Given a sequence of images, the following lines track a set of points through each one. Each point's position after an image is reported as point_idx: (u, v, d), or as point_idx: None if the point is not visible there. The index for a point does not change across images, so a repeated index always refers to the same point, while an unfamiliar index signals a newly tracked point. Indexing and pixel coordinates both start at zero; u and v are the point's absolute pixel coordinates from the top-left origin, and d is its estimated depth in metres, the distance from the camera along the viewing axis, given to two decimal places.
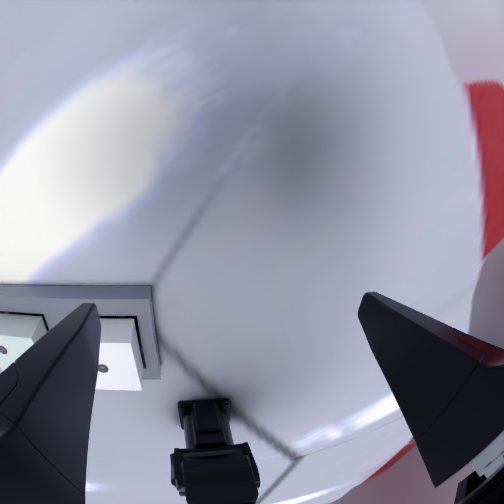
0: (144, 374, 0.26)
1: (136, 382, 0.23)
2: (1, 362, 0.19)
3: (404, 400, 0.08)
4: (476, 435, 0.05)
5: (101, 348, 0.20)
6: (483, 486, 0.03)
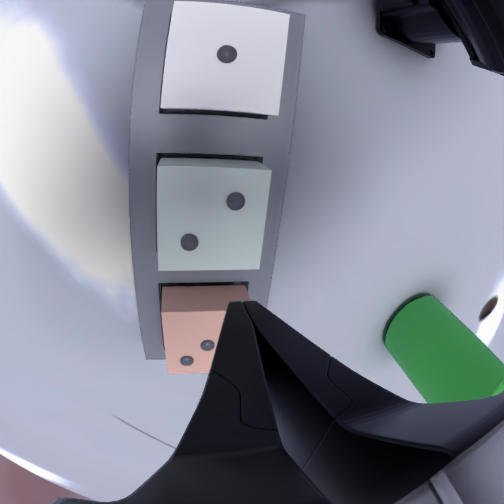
0: (291, 32, 0.15)
1: (267, 15, 0.12)
2: (221, 261, 0.17)
3: None
4: None
5: (179, 42, 0.11)
6: None
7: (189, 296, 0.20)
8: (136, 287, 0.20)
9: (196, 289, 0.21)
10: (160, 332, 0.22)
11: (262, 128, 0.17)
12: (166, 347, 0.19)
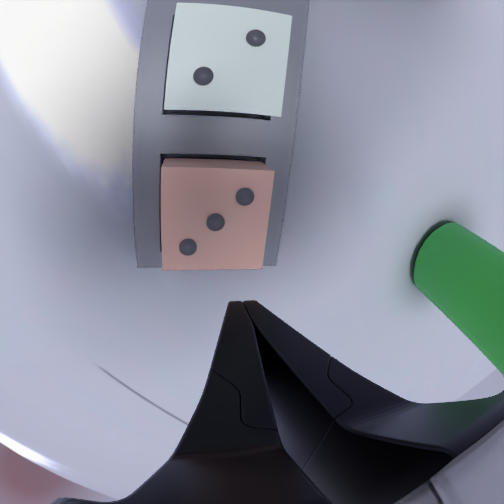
0: None
1: None
2: (237, 101, 0.14)
3: None
4: None
5: None
6: None
7: (196, 162, 0.16)
8: (134, 159, 0.17)
9: (204, 159, 0.17)
10: (157, 224, 0.19)
11: (279, 1, 0.13)
12: (163, 224, 0.16)
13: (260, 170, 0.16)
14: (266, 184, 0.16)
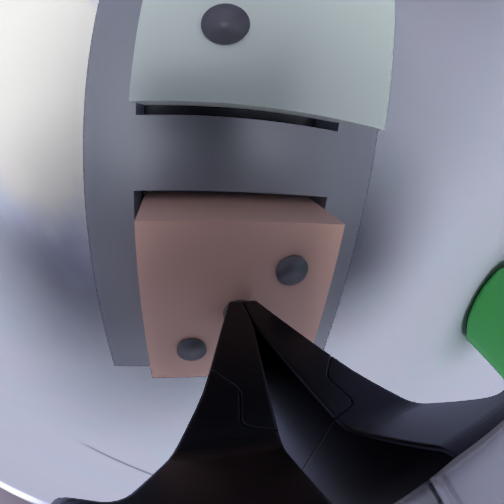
0: None
1: None
2: (303, 87, 0.06)
3: None
4: None
5: None
6: None
7: (202, 202, 0.09)
8: (87, 203, 0.09)
9: (215, 195, 0.10)
10: (138, 311, 0.11)
11: None
12: (146, 318, 0.09)
13: (321, 223, 0.09)
14: (329, 247, 0.09)
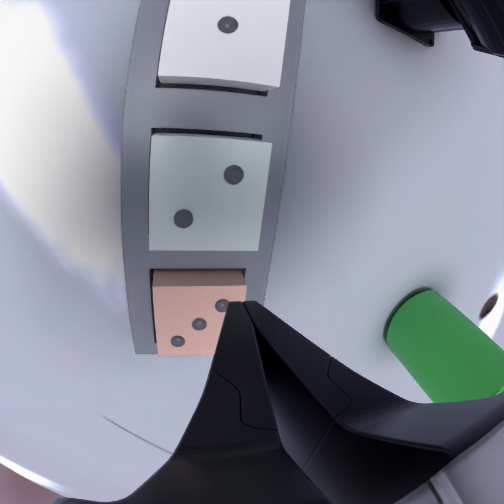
0: (292, 12, 0.14)
1: None
2: (217, 241, 0.16)
3: None
4: None
5: (180, 12, 0.10)
6: None
7: (182, 273, 0.20)
8: (126, 273, 0.19)
9: None
10: (151, 323, 0.21)
11: (261, 105, 0.16)
12: (157, 326, 0.19)
13: (235, 285, 0.19)
14: (240, 295, 0.19)
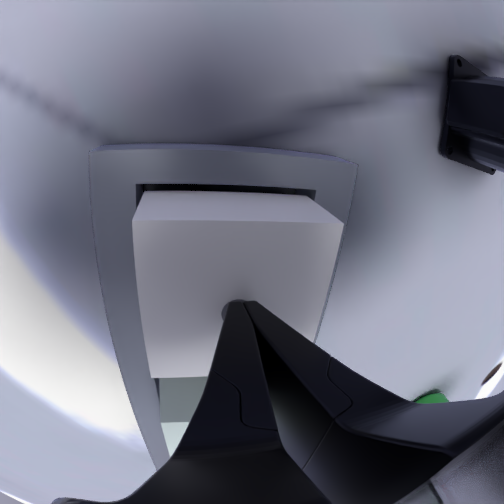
0: (335, 200, 0.11)
1: (307, 233, 0.09)
2: None
3: None
4: None
5: (158, 301, 0.08)
6: None
7: None
8: (149, 449, 0.17)
9: None
10: None
11: None
12: None
13: None
14: None
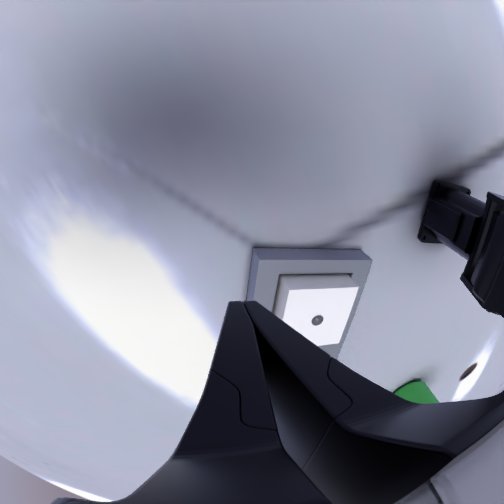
0: (360, 276, 0.24)
1: (345, 291, 0.22)
2: None
3: None
4: None
5: (290, 316, 0.22)
6: None
7: None
8: None
9: None
10: None
11: None
12: None
13: None
14: None
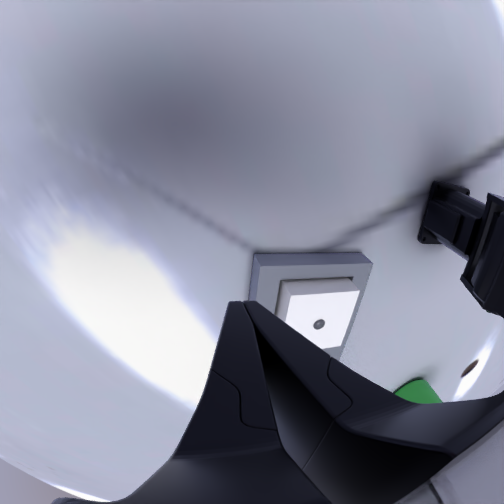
0: (361, 279, 0.25)
1: (346, 295, 0.23)
2: None
3: None
4: None
5: (292, 321, 0.22)
6: None
7: None
8: None
9: None
10: None
11: None
12: None
13: None
14: None
